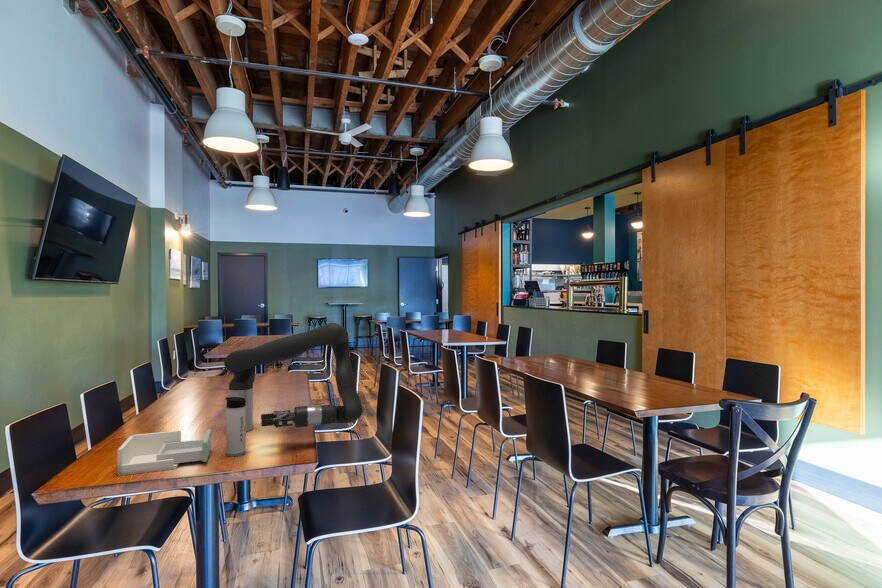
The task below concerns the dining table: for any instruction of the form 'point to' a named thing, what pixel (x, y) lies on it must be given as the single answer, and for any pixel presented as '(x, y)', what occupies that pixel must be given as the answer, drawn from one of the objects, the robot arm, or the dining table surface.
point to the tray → (186, 450)
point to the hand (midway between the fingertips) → (261, 420)
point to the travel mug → (235, 426)
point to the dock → (145, 453)
